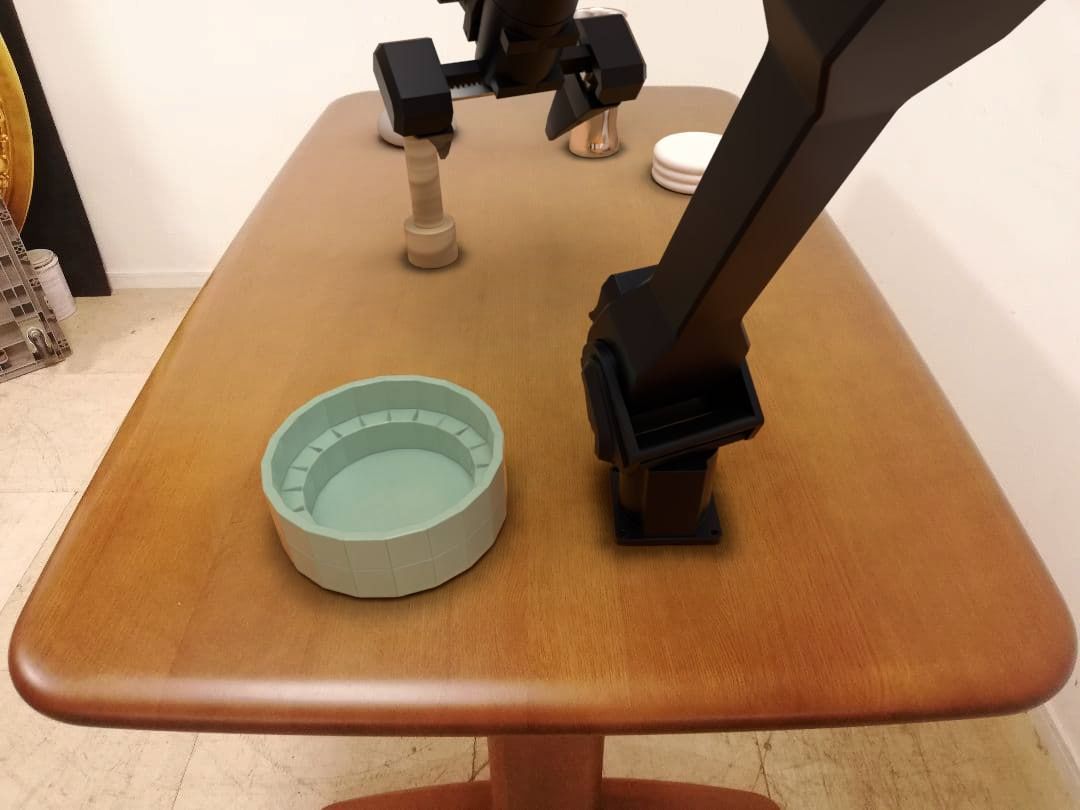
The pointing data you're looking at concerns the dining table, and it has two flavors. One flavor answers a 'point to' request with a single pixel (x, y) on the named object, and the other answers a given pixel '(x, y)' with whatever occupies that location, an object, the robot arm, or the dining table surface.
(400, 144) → the donut
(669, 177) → the coaster
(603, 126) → the beer glass
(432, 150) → the pestle
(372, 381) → the bowl
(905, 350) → the dining table surface
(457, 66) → the robot arm
